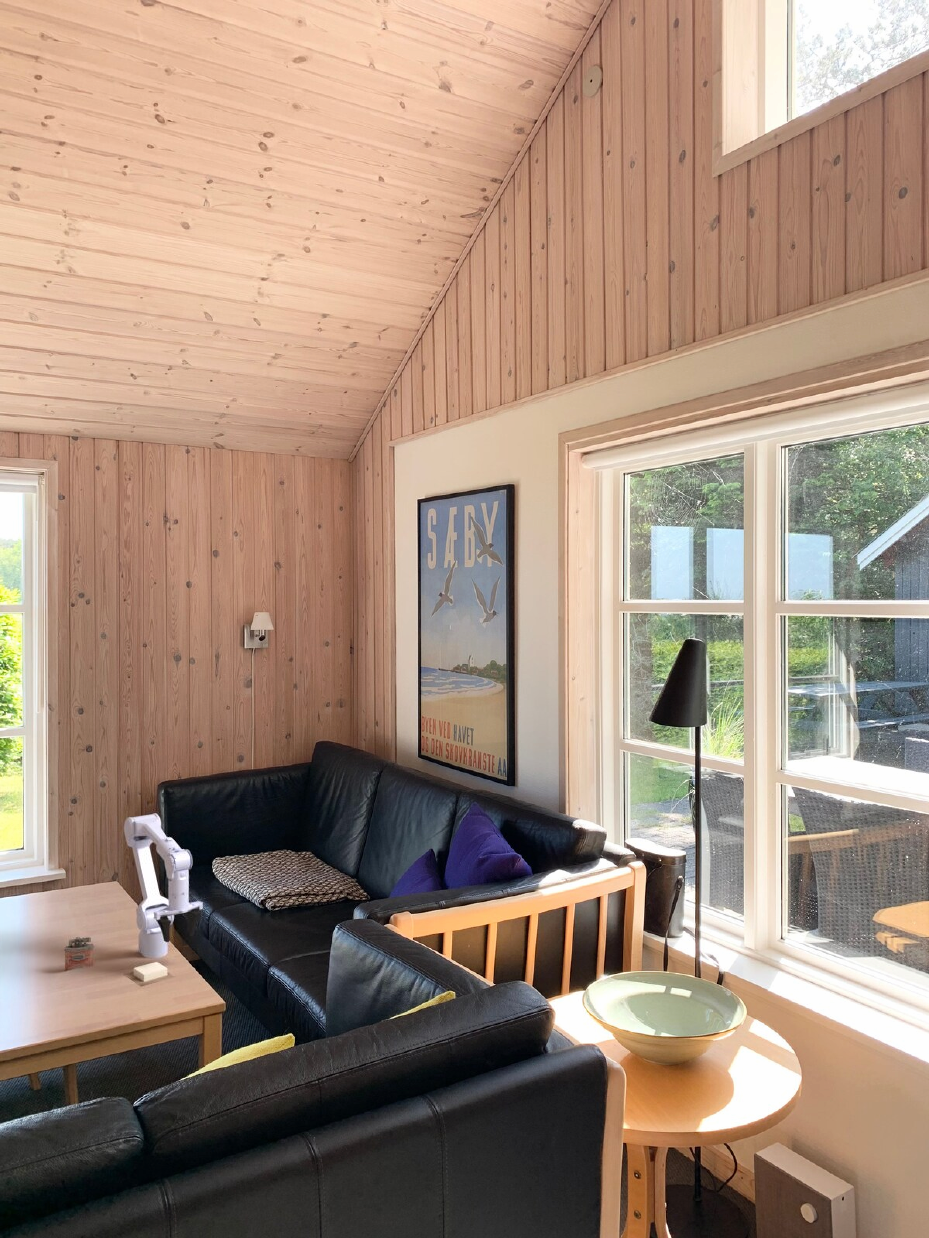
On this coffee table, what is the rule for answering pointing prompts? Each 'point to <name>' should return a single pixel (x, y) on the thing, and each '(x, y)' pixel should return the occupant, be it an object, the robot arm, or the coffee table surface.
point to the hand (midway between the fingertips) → (178, 937)
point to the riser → (142, 983)
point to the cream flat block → (150, 971)
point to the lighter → (78, 953)
